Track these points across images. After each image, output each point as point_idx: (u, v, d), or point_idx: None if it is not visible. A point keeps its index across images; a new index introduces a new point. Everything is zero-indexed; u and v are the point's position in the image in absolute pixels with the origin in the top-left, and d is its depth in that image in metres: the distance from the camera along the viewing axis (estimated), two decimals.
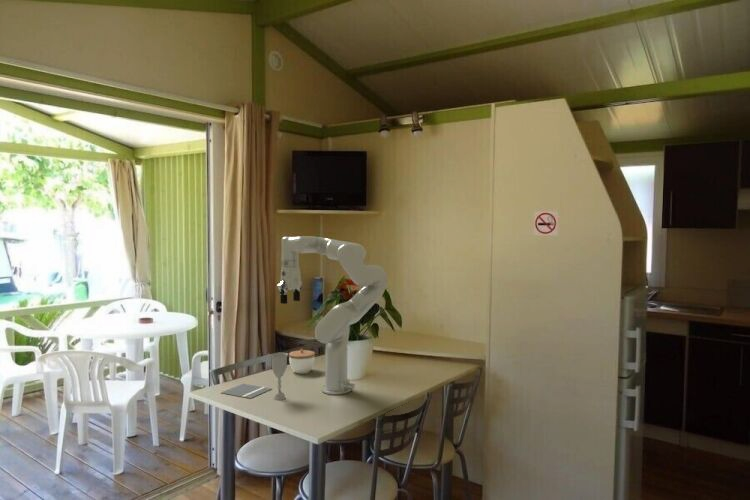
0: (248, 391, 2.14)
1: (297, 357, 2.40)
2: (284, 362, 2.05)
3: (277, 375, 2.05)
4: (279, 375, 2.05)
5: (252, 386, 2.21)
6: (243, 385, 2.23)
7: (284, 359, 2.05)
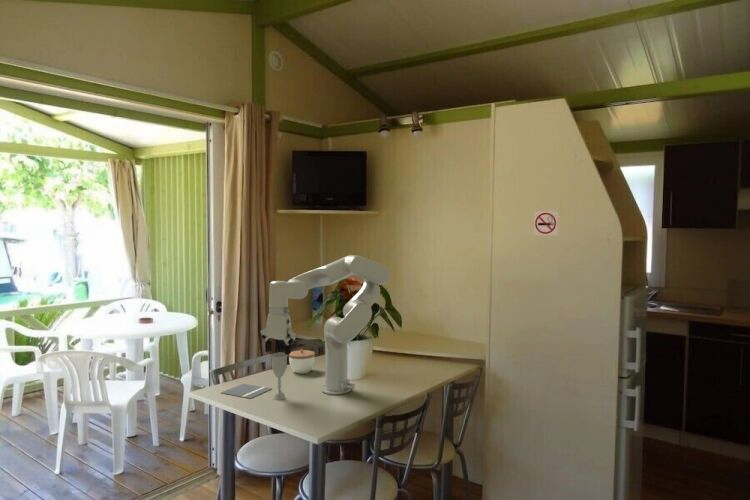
0: (248, 391, 2.14)
1: (297, 357, 2.40)
2: (284, 362, 2.05)
3: (277, 375, 2.05)
4: (279, 375, 2.05)
5: (252, 386, 2.21)
6: (243, 385, 2.23)
7: (284, 359, 2.05)
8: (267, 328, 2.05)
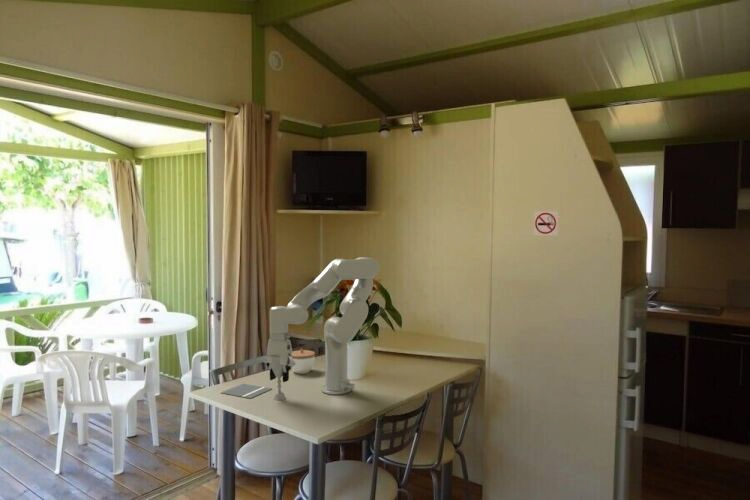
0: (248, 391, 2.14)
1: (297, 357, 2.40)
2: None
3: (277, 375, 2.05)
4: (279, 375, 2.05)
5: (252, 386, 2.21)
6: (243, 385, 2.23)
7: None
8: (268, 353, 2.06)
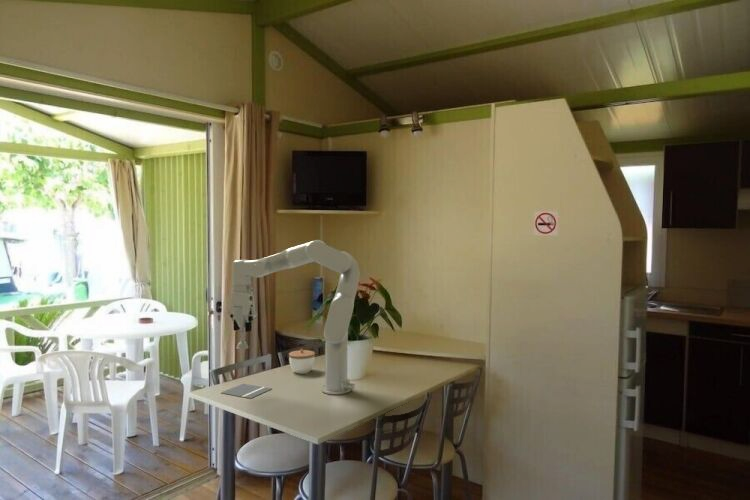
0: (248, 391, 2.14)
1: (297, 357, 2.40)
2: None
3: (240, 325, 2.14)
4: (242, 325, 2.14)
5: (252, 386, 2.21)
6: (243, 385, 2.23)
7: None
8: (231, 305, 2.15)
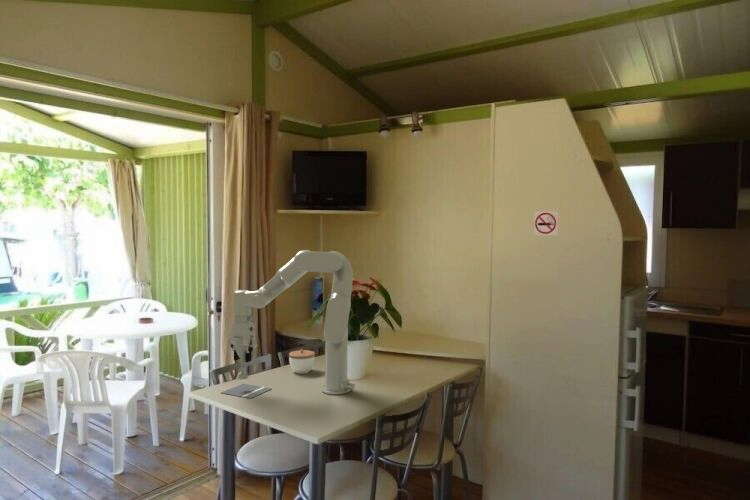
0: (248, 391, 2.14)
1: (297, 357, 2.40)
2: None
3: (240, 356, 2.14)
4: (242, 355, 2.14)
5: (252, 386, 2.21)
6: (243, 385, 2.23)
7: None
8: (232, 335, 2.15)
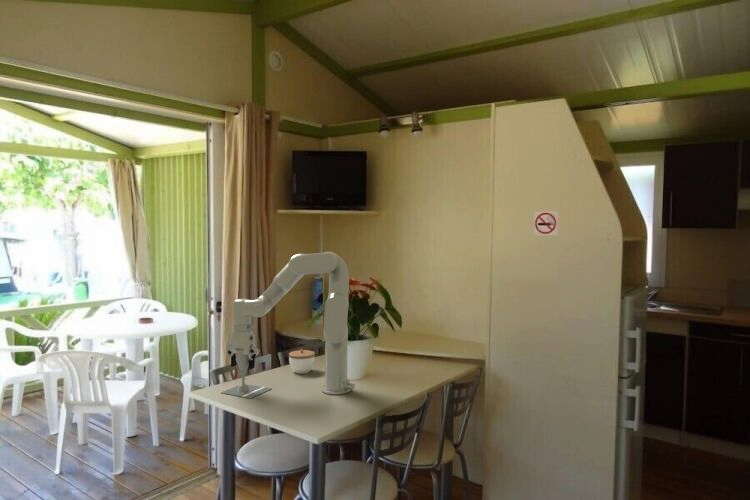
0: (248, 391, 2.14)
1: (297, 357, 2.40)
2: None
3: (241, 368, 2.14)
4: (243, 367, 2.14)
5: (252, 386, 2.21)
6: None
7: None
8: (232, 344, 2.15)
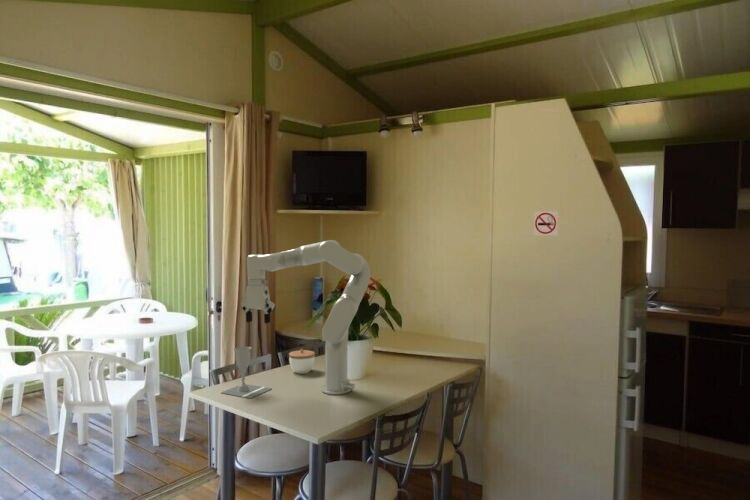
0: (248, 391, 2.14)
1: (297, 357, 2.40)
2: (247, 355, 2.14)
3: (241, 368, 2.14)
4: (243, 367, 2.14)
5: (252, 386, 2.21)
6: None
7: (247, 352, 2.14)
8: (247, 299, 2.17)
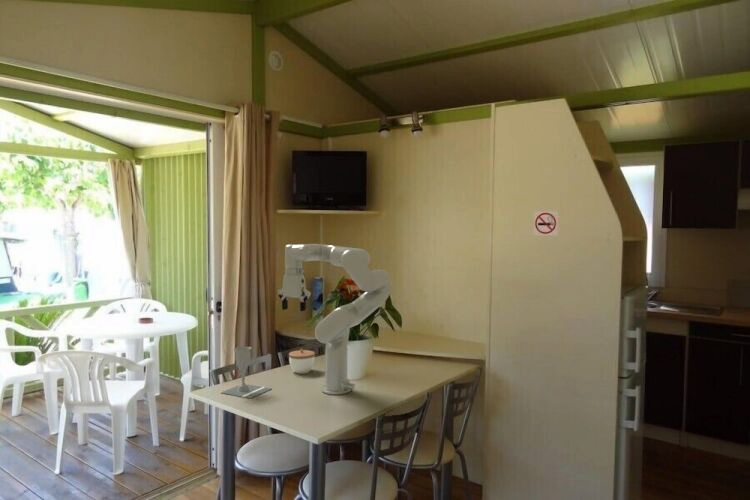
0: (248, 391, 2.14)
1: (297, 357, 2.40)
2: (247, 355, 2.14)
3: (241, 368, 2.14)
4: (243, 367, 2.14)
5: (252, 386, 2.21)
6: None
7: (247, 353, 2.14)
8: (283, 287, 2.25)
